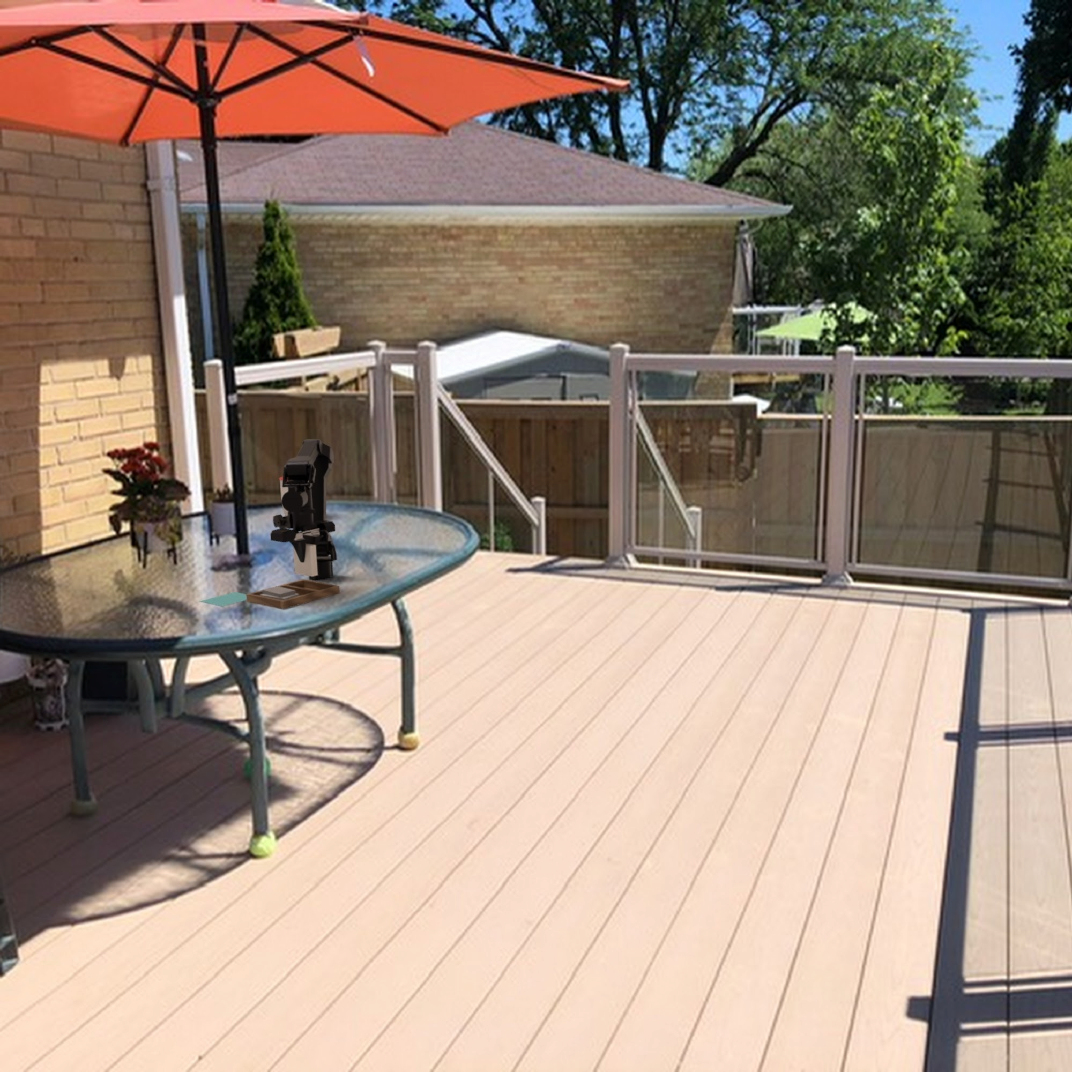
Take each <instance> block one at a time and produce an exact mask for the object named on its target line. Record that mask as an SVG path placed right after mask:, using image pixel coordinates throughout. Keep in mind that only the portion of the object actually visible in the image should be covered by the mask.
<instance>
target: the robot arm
mask: <svg viewBox="0 0 1072 1072" xmlns="http://www.w3.org/2000/svg"><path fill="white" fill-rule="evenodd" d="M334 463H335V454H334V451H333V449H332V447H331V446H330V445H327V444H326V443H324V442H322V440H321V439H318V438H311V439H307V438H306V439H304V440H303V441H302V446H301V448H300V449H299V451H298V452H297V455H296V456H294V457H291V458H289V459H288V460H287V461H286V463H285V464H284V466H283V473H282V477H283V482H282V487H288V492H286V493H285V494H284V495H283V497H282V501H281V506H282V505H283V507H284V509H286V510H287V511H288V516H285V515H284V516H283V515H282V514H276V515H274V516H272V523H273V526H274V528H277V529H272V530H271V532H270V534H269V535H270V541H272V542H280V543H290V544H291V545H292V547H294V549H295V551H296V553H297V555H298V558H299V560H300V562H302V563H303V562H304V560H305V550H306V544H312V545H316V558H317V572H318V575H316V576H313V577H312V576H308V579H309V580H310V581H315V582H317V581H324V580H329V579H332V578H333V577H334V569H333V568H334V567H333V562H334V561H338V554H337V549H336V545H334V541H333V540H332V535H331V534H330V533H333V532H336V524H335V523H334V521H332V520H327V479H328V477H329V475H330V474H331V472H332V471H333V464H334ZM287 480H288V481H287ZM308 481H309V482H308ZM283 507H282V508H283Z"/></svg>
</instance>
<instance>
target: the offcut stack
mask: <svg viewBox="0 0 1072 1072" xmlns="http://www.w3.org/2000/svg"><path fill="white" fill-rule="evenodd" d="M279 586H280V585H276V586H273V587H268V588H264V589H261V590H262V593H263V594H261V595H260V596H264V597H269V598H274V599H279V600H287V599H290V598H294V597H297V596H299V594H296V593H295V590H292V589H287V588H283V587H279Z"/></svg>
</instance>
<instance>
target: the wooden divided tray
mask: <svg viewBox="0 0 1072 1072" xmlns="http://www.w3.org/2000/svg"><path fill="white" fill-rule="evenodd" d="M278 586H279V587H283V588H287V589H292V590H295V593H296V594H299V596H297V597H294V598H290V599H287V600H279V599H274V598H269V597H264V596H260V595H261V594H263V593H262V590H263V589H261V590H257V591H254V592H250V593H247V594H246V593H245V594H246V596H247V600H246V602H248V603H252V604H256V605H262V606H266V607H271V608H275V609H280V610H285V609H289V608H292V607H295V606H296V607H298V606H300V605H303V604H306V603H310V602H313V601H317V600H320V599H323V598H328V597H331V596H335V595H339V594H340V593H341V592H340V590H341V589H340V585H337V584H330V583H325V582H320V581H314V580H308V579H299V580H295V581H292V582H287V583H284V584H280V585H278Z"/></svg>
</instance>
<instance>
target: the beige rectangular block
mask: <svg viewBox="0 0 1072 1072" xmlns="http://www.w3.org/2000/svg"><path fill="white" fill-rule="evenodd" d="M292 547H293V546H292ZM292 550H293V562H294V574H296V575H300V576H306V577H309V576H312V577H313V576H316V575H318V572H317V558H316V545H312V544H306V550H305V560H304V562H303V563H302V562H300V560H299V558H298V555H297V553H296V551H295V549H294V547H293V549H292Z"/></svg>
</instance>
